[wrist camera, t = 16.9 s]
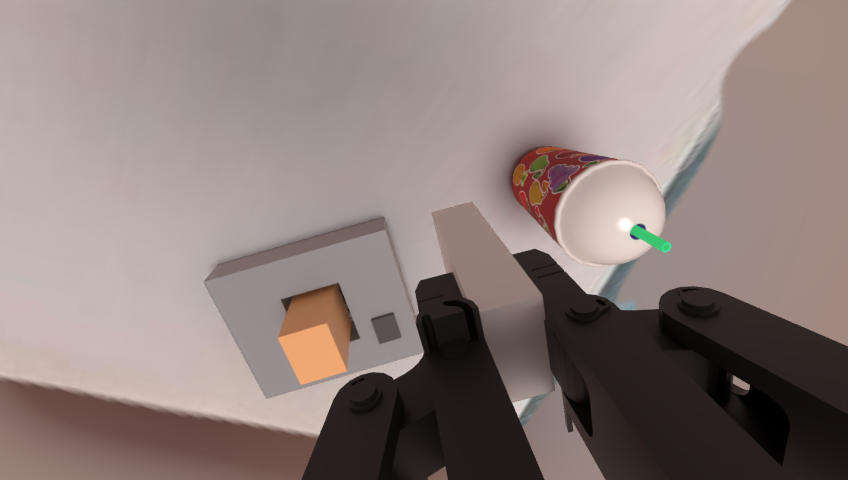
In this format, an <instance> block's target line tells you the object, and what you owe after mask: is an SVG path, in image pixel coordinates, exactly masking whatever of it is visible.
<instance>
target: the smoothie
mask: <svg viewBox="0 0 848 480" xmlns="http://www.w3.org/2000/svg"><path fill="white" fill-rule="evenodd" d="M512 189H513V192H514V195H515V198H516V199H517V200H518V202H519V203H520V204H521V205H522V206H523V207H524V208H525V210H526V211H527V212H528V213H529V214H530V215H531V216H532V217H533V218H534V219H535V220H536V221H537V222H538V223H539V224H540V226H541V227H542V228H543V229H544V230H545V231H546V232H547V233H548V234H549V235H550V236H551V237H552V238H553V239H554V240H555V242H556V243H557V244H558V245H559V246H560V247H561V248H562V249H563V250H564V252H565V253H566V255H568V256H569V257H570V258H572V259H573V260H575V261H576V262H578V263H580V264H584V265H588V266H592V267H596V266H610V265H616V264H622V263H626V262H628V261H631V260H634V259H636V258H638V257H640V256H641V255H643V254H644V253H646V252H647V251H648V250H649V249H650V248H651V247H652V246H653V247H655V248H657V249H659V250H660V251H663V252H667V251H669V250H670V249H671V244H670V243H669V242H667V241H665V240H663V239H661V238H660V237H659V236H660V234H661V232H662V230H663V228H664V223H665V218H666V213H665V203H664V198H663V196H662V194H661V188H660V186H659V184H658V183H657V181H656V179H655V177H654V175H653V174H652V173H651V172H650V171H649V170H647V169H646V168H645V167H644V166H643V165H641V164H638V163H635V162H632V161H629V160H618V159H614V158H609V157H604V156H599V155H593V154H588V153H583V152H577V151H572V150H567V149H562V148H556V147H551V146H550V147H540V148H538V149H535V150H533V151H530V152H529V153H528V154H527V155H526V156H524V157H523V158H522V159H521V161H520V162H519V163H518V165H517V166H516V168H515V171H514V174H513V177H512Z"/></svg>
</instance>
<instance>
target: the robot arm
mask: <svg viewBox="0 0 848 480" xmlns="http://www.w3.org/2000/svg"><path fill="white" fill-rule="evenodd" d="M432 216H433V220H434V224H435V228H436V232H437V236H438V240H439V244H440V248H441V253H442V257H443V261H444V265H445V269H446V273H447V274H443V275H440V276H436V277H432V278H428V279H425V280H421V281H420V282H419V284H418V286H417V288H416V291H415V293H416V299H417V303H418V309H419V314H418V315H417V318H416V327H417V330H418V333H419V337H420V340H421V343H422V347H423V350H424V355H423V357H422V359H421V360H420V362H419V363H418V364H417V365H416V366H415V367H414V368H413V369H411V370H410V371H408V372H407V373H405V374H404V375H402V376H400V377H398V378H396V379H395V380H393V378H392V377H391V376H389V375H386V374H384V373H375V372H372V373H368V374H363V375H360V376H358V377H356V378H354V379H352V380H351V381H349V382H348V383H347V384H346V385H344V386H343V387H342V388H341V389H340V390H339V392H338V393H337V395H336V397H335V398H334V400H333V402H332V405H331V407H330V410H329V412H328V415H327V417H326V420H325V422H324V425H323V427H322V430H321V432H320V435H319V437H318V440H317V442H316V445H315V447H314V450H313V452H312V455H311V457H310V460H309V463H308V465H307V467H306V470H305V472H304V475H303V477H302V480H428V477H429V476H430V475H432V474H433V473H435V472H437V471H438V470H439V469H441V468H443V467H444V466H446V471H447V476H448V480H544V478H543V475H542V473H541V471H540V468H539V466H538V464H537V461H536V459H535V456H534V454H533V451H532V449H531V447H530V444H529V442H528V440H527V437H526V435H525V433H524V430H523V428H522V425H521V423H520V421H519V418H518V416H517V414H516V411H515V409H514V406H513V404H512V402H516V401H520V400H523V399H527V398H531V397H534V396H538V395H542V394H545V393H549V392H553V391H555V385H554V378H553V375H554V376H555V378H556V380H557V381H558V383H559V385H560V386H561V388H562V397H563V404H564V412H565V420H566V426H567V429H568V432H572V431H573V426H572V421H573V423H574V425H575V426H576V428H577V430H578V432H579V433H580V435H581V437H582V438H583V441H584V442H585V444H586V446H587V448H588V449H589V451H590V453H591V455H592V456H593V458H594V460H595V462H596V463H597V465H598V467H599V469H600V471H601V472H602V474H603V476H604V478H605V479H606V480H848V346H845V345H843V344H841V343H838V342H836V341H834V340H832V339H829V338H826V337H825V336H822V335H820V334H818V333H815V332H813V331H811V330H808V329H806V328H804V327H801V326H799V325H797V324H794V323H792V322H790V321H787V320H785V319H782V318H781V317H778V316H776V315H774V314H771V313H769V312H767V311H764V310H762V309H760V308H757V307H755V306H753V305H750V304H748V303H746V302H743V301H741V300H739V299H736V298H734V297H732V296H729V295H727V294H725V293H722V292H719V291H716V290H713V289H709V288H703V287H693V286H692V287H679V288H676V289H672V290H669V291H667V292H666V293H665V294H663V295H662V296H661V298H660V301H659V309H653V310H620V309H619V308H618V307H617V306H616V305H615V304H614V303H612V302H611V301H609V300H608V299H606V298H604V297H600V296H597V295H590V294H586V293H585V292H584V291H583V290H582V289H581V288H580V287H579V285H578V284H577V283H576V282H575V281H574V280H573V279H572V278H571V277H570V276H569V275H568V274H567V273H566V272H564V270H563V269H562V268H561V267H560V266H559V265H557V262H556V261H555V260H554V259H553V258H552V257H551V256H550V255H549V254H547V253H544V252H542V251H539V250H537V249H532V250H528V251H525V252H521V253H517V254H513V255H512V254H511V253H510V251H509V250H508V249H507V247H506V246H505V245H504V244H503V242H502V241H501V240H500V238H499V237H498V236H497V234H496V233H495V232H494V230H493V229H492V228H491V226H490V225H489V224H488V222H487V221H486V220H485V218H484V217H483V216H482V214H481V213H480V212H479V210H478V209H477V208H476V206H475V205H474V204H473V202H469V203H465V204H462V205H458V206H454V207H450V208H446V209H443V210H439V211H435V212H432ZM733 375H734V376H736V377H737V378H739V379H741V380H742V381H744V382H746V383H748V384H749V385H750V389H749V390H744V389H742V388H740V387H738V386H736V385H735V384H733Z"/></svg>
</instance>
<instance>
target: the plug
mask: <svg viewBox="0 0 848 480" xmlns="http://www.w3.org/2000/svg"><path fill="white" fill-rule="evenodd" d="M351 322H352V320H351V318H350V315H349V313H348V306H347V304H346V302H344V300H343V298H342V295H341V293H340V290H339V288H338V285H337V283H336V284H332V285H329V286H325V287H322V288H318V289H315V290H311V291H308V292H305V293H301V294H298V295H294V296H293V298H292V300H291V303H290V306H289V308H288V311H287V314H286V316H285V319H284V322H283V324H282V327H281V330H280V332H279V335H278V340H279V342H280V344H281V346H282V348H283V350H284V352H285V354H286V356H287V358H288V360H289V362H290V364H291V366H292V368H293V370H294V372H295V374H296V376H297V378H298V380H299V382H300V384H301V385H303V384H306V383H310V382H313V381H316V380H320V379H323V378H326V377H329V376H333V375H336V374H339V373H343V372H346V371H347V369H348V357H349V345H350V334H351Z"/></svg>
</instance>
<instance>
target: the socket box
mask: <svg viewBox="0 0 848 480" xmlns="http://www.w3.org/2000/svg"><path fill="white" fill-rule="evenodd" d="M336 283H339V285H340V287H341V290H342V293H343V295H344V298H345V300H346V303H347V305H348V308H349V311H350V313H351V316H352V318H353V321H352V322H351V334H350V345H349V357H348V369H347V371H346V372H343V373H339V374H336V375H333V376H329V377H326V378H323V379H320V380H316V381H313V382H310V383H306V384H303V385H301V384H300V382H299V380H298V378H297V376H296V374H295V372H294V370H293V368H292V366H291V364H290V362H289V360H288V358H287V356H286V354H285V352H284V350H283V348H282V346H281V344H280V342H279V340H278V335H279V332H280V330H281V327H282V324H283V322H284V319H285V316H286V314H287V311H288V308H289V306H290V303H291V300H292V298H293V296H294V295H298V294H301V293H305V292H308V291H311V290H315V289H318V288H322V287H325V286H329V285H332V284H336ZM204 284H205V286H206V288H207V290H208V292H209V294H210V295H211V297H212V299H213V301H214V303H215V305H216V307H217V308H218V310H219V312H220V314H221V316H222V318H223V320H224V321H225V323H226V325H227V327H228V329H229V331H230V333H231V334H232V336H233V338H234V340H235V342H236V344H237V346H238V347H239V349H240V351H241V353H242V355H243V357H244V358H245V360H246V362H247V364H248V366H249V368H250V370H251V371H252V373H253V375H254V377H255V379H256V381H257V383H258V384H259V386H260V388H261V390H262V392H263V394H264V396H265V397H266V399H268V398H271V397H274V396H278V395H281V394H285V393H288V392H291V391H295V390H298V389H301V388H305V387H308V386H312V385H315V384H318V383H322V382H325V381H329V380H332V379H335V378H339V377H342V376H346V375H349V374H352V373H356V372H359V371H363V370H366V369H369V368H373V367H376V366H380V365H383V364H386V363H390V362H393V361H397V360H400V359H403V358H407V357H410V356H414V355H417V354H420V353H424V350H423V347H422V343H421V340H420V337H419V333H418V330H417V327H416V317H415V314H414V310H413V307H412V304H411V301H410V298H409V295H408V292H407V288H406V285H405V282H404V279H403V276H402V273H401V269H400V266H399V263H398V260H397V257H396V254H395V251H394V247H393V244H392V241H391V238H390V235H389V232H388V228H387V225H386V222H385V219H384V217H382V218H379V219H375V220H372V221H368V222H365V223H361V224H358V225H354V226H351V227H347V228H344V229H340V230H337V231H333V232H330V233H327V234H323V235H320V236H316V237H313V238H309V239H306V240H302V241H299V242H295V243H292V244H288V245H285V246H281V247H278V248H274V249H271V250H268V251H264V252H261V253H257V254H254V255H250V256H247V257H243V258H240V259H236V260H233V261H229V262H226V263H222V264H219V265H218V266H217V267H216V268H215V269H214V270H213V271H212V273H211V274H210V275H209V276H208V277H207V278H206V280H205V281H204Z"/></svg>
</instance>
